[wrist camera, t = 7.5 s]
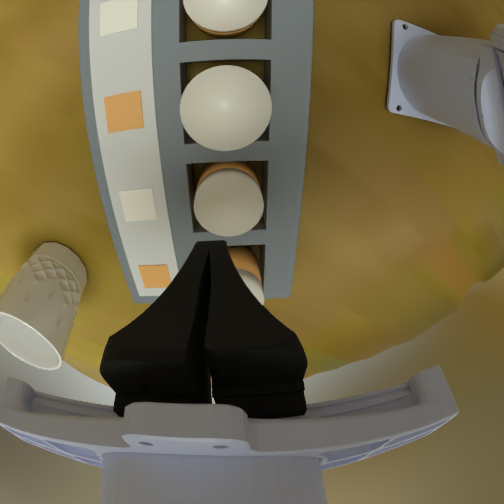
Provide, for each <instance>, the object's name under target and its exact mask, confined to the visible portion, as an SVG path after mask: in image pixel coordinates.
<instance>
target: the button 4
mask: <svg viewBox="0 0 504 504" xmlns="http://www.w3.org/2000/svg"><path fill="white" fill-rule="evenodd" d="M227 247H228V251H229V254H230V256H231V259H232V261H233V263H234V265H235V267H236V269H237V271H238V273H239V274H240V276H241V278H242V279H243V281H244V282H245V284H246V285H247V287H248V288H249V290H250V291H251V292H252V293H253V295H254V296H255V297H256V298H257V299H258V301H259V302H260V303H261V304H262V305H264V295H263V289H262V283H261V276H260V270H259V264H258V260H257V257H256V256H255V254H254V253H253V252H252V251H251V250H249V249H247V248H245V247H243V246H239V245H238V246H227Z"/></svg>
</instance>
